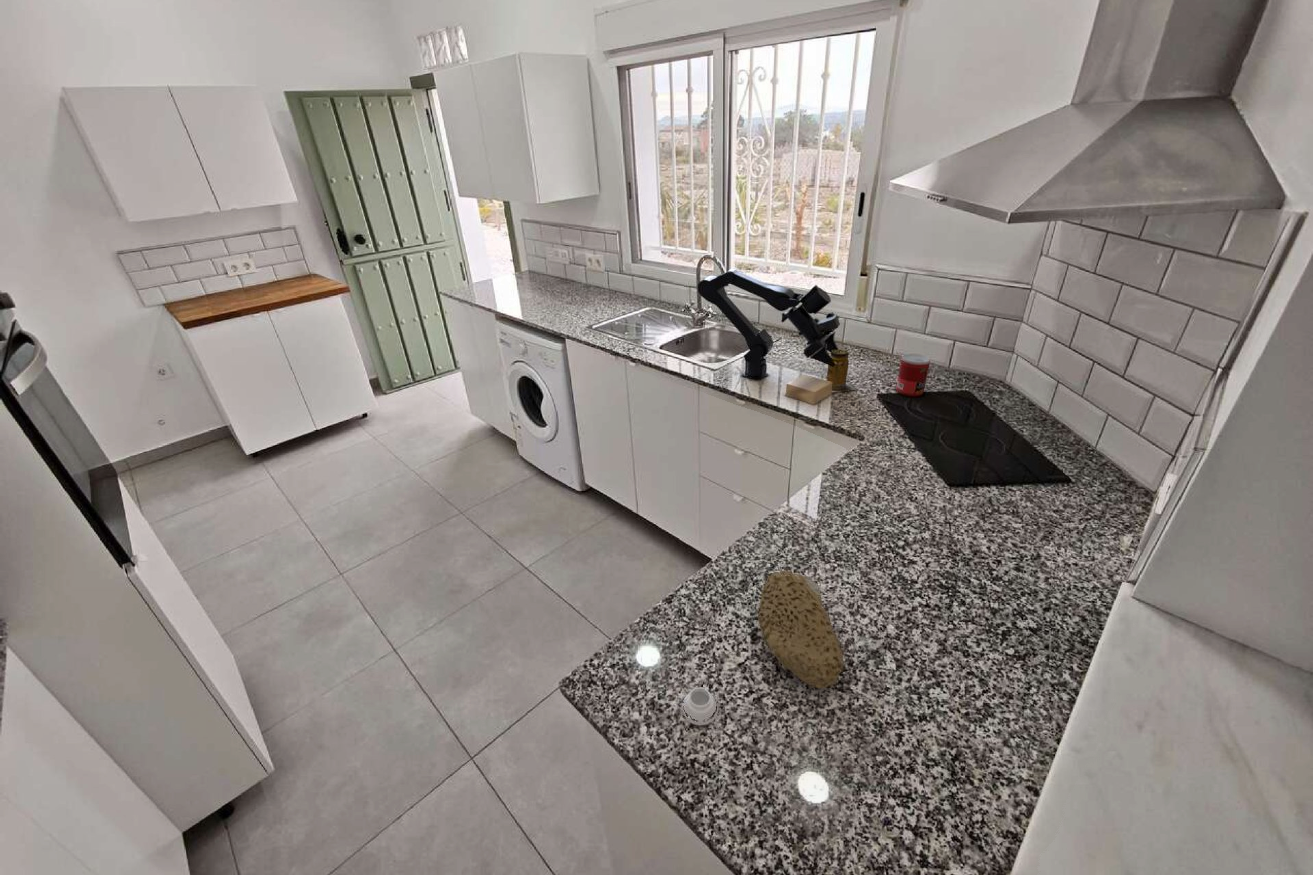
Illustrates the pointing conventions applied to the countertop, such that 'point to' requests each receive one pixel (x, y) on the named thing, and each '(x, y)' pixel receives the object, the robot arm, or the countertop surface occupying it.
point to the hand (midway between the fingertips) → (837, 360)
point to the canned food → (913, 374)
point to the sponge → (799, 629)
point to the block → (809, 389)
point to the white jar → (699, 706)
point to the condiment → (839, 371)
